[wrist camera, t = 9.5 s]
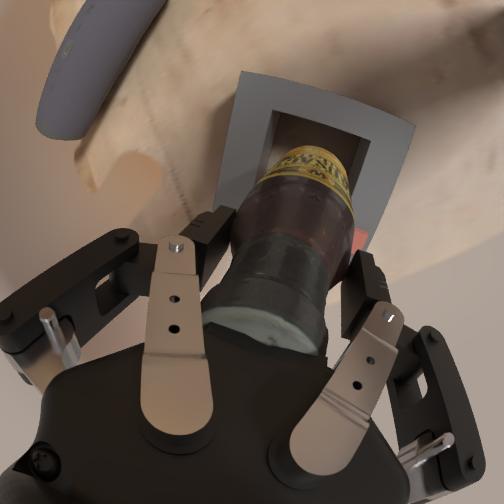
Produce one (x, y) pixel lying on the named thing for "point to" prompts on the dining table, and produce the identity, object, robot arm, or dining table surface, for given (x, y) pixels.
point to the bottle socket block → (323, 111)
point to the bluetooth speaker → (91, 64)
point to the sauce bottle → (287, 253)
